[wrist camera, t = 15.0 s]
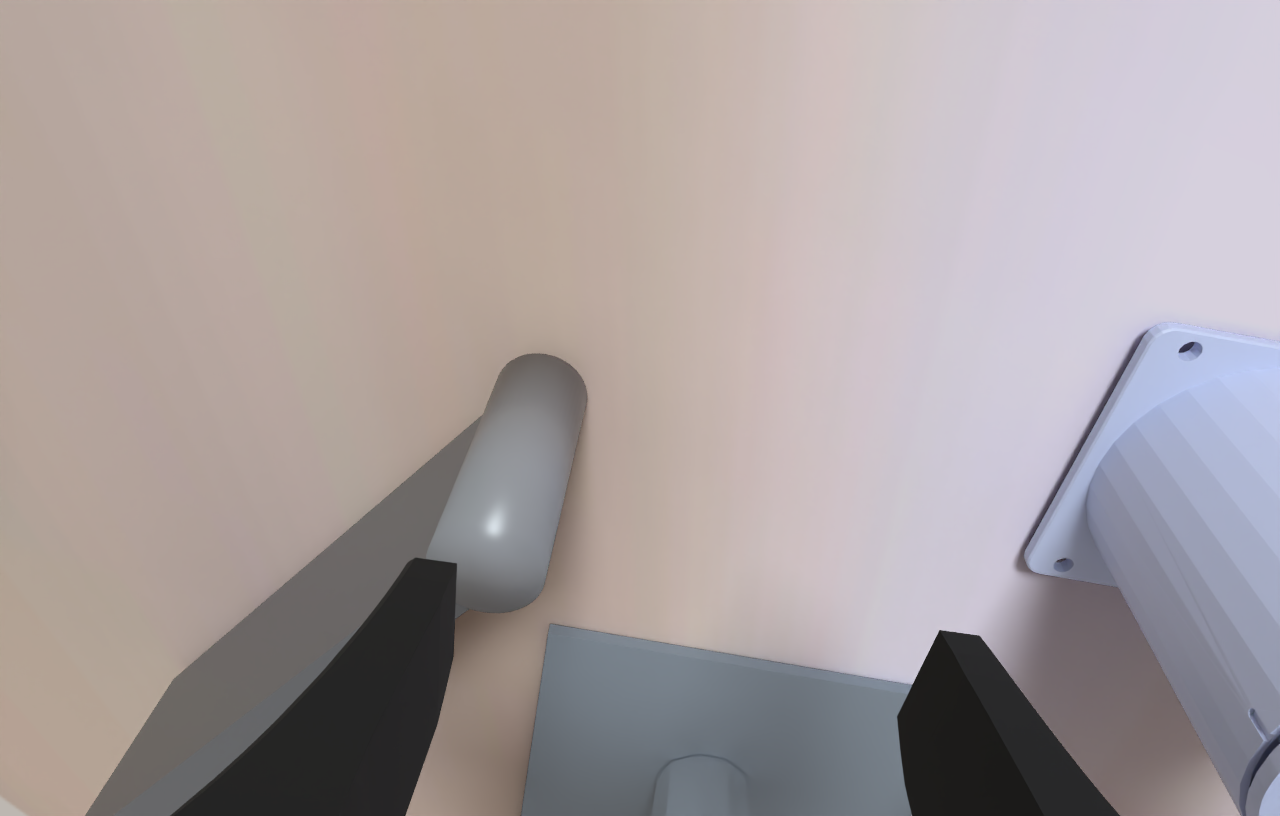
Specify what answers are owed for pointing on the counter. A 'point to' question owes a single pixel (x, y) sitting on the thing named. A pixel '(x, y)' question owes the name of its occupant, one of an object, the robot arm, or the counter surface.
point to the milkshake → (700, 788)
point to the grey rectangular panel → (372, 583)
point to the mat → (708, 730)
